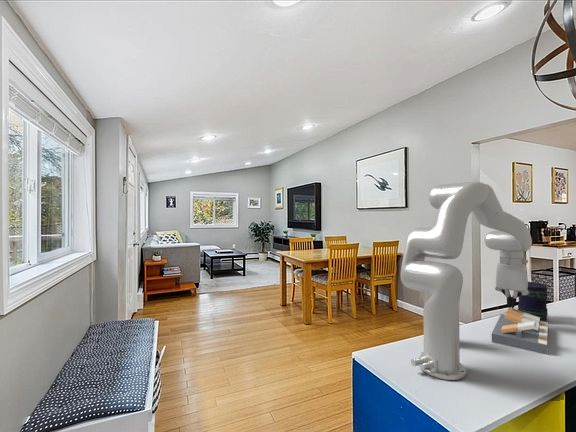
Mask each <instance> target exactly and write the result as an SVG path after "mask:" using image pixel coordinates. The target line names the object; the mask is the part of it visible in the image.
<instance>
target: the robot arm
mask: <svg viewBox="0 0 576 432" xmlns="http://www.w3.org/2000/svg"><path fill="white" fill-rule="evenodd" d="M428 202H429V204H430V205H431V207H433V209H436V210H437V211H436V215H435V219H434V224H433V226H431V227H425V226H424V227H422V226H421V227H415V228H413V229H412V230H411V231H410V232H409V234H408V236H407V238H406V242H405V247H404V252H403V256H402V262H401V267H400V282H401V283H402V285H403V287H405V288H407V289H410V290H412V291H419V292H422V293H427V294H430V295H431V296H430V297H429V298H428V300H427V301H426V302H425V304H424V306H423V310H422V314H423V317H422V318H423V351H421V353H420V356H419V357H418V358H417V357H416V358H413V359H411V360H410V365H412V367H419V369H420V370H421V371H423V372H424V373H425V374H426V375H428V376H431V377H434V378H437V379H440V380H441V379H442V380H447V381H455V380H457V381H458V380H462V379H463V378H465V377H466V375H467V369H466V367H465V366H464V365H463V364H462V362H461V359H460V357H461V355H460V351H461V350H460V346H461V345H460V342H461V341H460V303H461V302H460V300H461V294H462V288H463V283H464V277H463V273H462V271H461V270H460V269H459V268H458V267H457V266H454V265H452V264H449V263H444V262H437V261H429V260H426V259H427V258H433V259H441V260H455V259H458V258H459V257H460V255H461V254H462V250H463V245H464V239H465V234H466V228H467V222H468V218H469V216H470V215H471V213H472V214H474V217H475V219H476V220H477V222H478V223H479V224H481V226H483V227H486V228H489V229H491V231H489V232H487V233H486V235H485V237H484V245H485V246H486V247H487V248H488V249H490V250H493V251H499V263H497V265H496V266H497V267H496V271H495V289H494V290H495V291H496V292H500V293H502V294H503V295H504V296H505V297H506V305H508V307H509V308H513V309H515V307H517V298H519V296H520V295H527V294H529V292H528V282H529V279H528V278H529V277H528V271H527V270H528V269H527V267H526V265H525V264H529V259H526V258H524V253H525V252H527V251H529V250H530V249H531V247H532V244H533V240H532V236H531V233H530V231H529V228H528V227H527V225H526V224H525V222H523V221H522V220H521V219H519V218H518V217H516V216H514V215H513V214H511V213H508V212H506V211H504V209H503V207H502V205H501V204H500V200H499V199H498V197H497V195H496V192H495V190H494V189H493V188H492V186H491V185H490V184H487V183H484V182H480V181H469V182H457V183H456V182H455V183H449V184H439V185H435V186H433V187H432V188H431V189H430V191H429V194H428ZM510 291H513V295H511V293H510ZM518 291H519V292H518Z"/></svg>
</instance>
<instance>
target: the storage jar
mask: <svg viewBox="0 0 576 432" xmlns="http://www.w3.org/2000/svg"><path fill="white" fill-rule="evenodd" d="M518 292H519V291H518ZM528 292H529V294H527V295H520V296H519V297H518V304H517V310H519V311H522V312H525V313H528V314H531V315H534V316H537V317H540V321H544V322H548V313H549V312H548V308H547V300H548V285H547V284H545V283H541V282H535V281H528Z"/></svg>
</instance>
